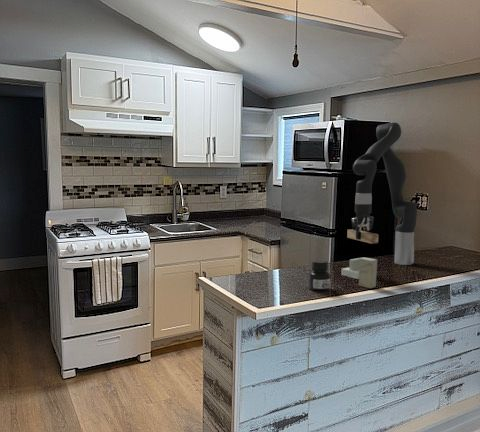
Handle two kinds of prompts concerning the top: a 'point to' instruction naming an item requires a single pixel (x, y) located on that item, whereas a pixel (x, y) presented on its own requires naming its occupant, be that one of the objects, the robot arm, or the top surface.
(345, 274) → the fulcrum
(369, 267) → the skincare box
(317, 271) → the ink bottle
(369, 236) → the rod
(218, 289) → the top surface
